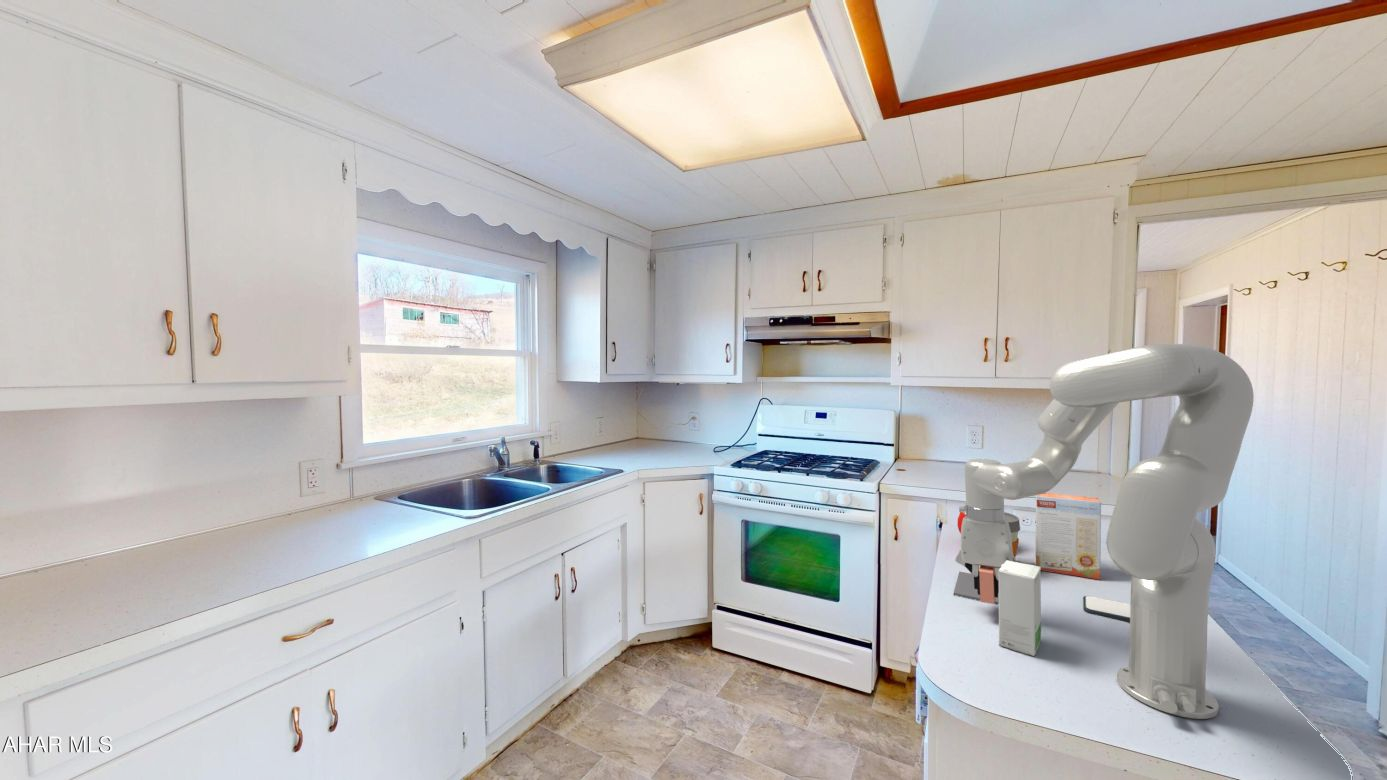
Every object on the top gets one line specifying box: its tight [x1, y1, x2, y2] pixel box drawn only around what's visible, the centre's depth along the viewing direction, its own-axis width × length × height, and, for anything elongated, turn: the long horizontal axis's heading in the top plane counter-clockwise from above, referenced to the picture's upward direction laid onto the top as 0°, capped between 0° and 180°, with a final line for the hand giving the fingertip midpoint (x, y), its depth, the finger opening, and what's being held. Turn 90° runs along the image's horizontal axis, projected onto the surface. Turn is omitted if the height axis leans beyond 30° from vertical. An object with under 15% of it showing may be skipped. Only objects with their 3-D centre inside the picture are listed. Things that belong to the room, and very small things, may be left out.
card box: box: [979, 565, 995, 605], centre depth 113 cm, size 9×3×7 cm, turn 147°
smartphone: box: [1082, 595, 1130, 624], centre depth 112 cm, size 9×2×16 cm
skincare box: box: [998, 560, 1042, 657], centre depth 101 cm, size 8×7×16 cm
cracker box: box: [1035, 492, 1102, 580], centre depth 135 cm, size 14×6×21 cm, turn 58°
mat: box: [953, 571, 999, 605], centre depth 125 cm, size 15×15×1 cm
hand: (987, 593), depth 113 cm, fingers closed on card box, 2 cm apart
